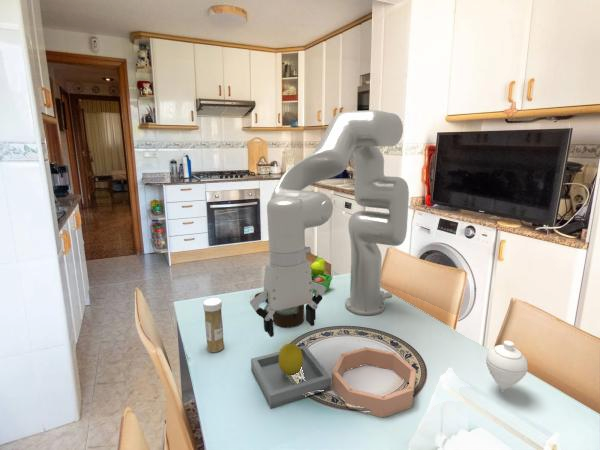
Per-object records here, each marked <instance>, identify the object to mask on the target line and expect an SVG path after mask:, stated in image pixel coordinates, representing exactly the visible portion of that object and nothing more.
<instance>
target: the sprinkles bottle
mask: <svg viewBox="0 0 600 450" xmlns="http://www.w3.org/2000/svg"><path fill="white" fill-rule="evenodd" d="M222 304H223V303H222V299H221V298H218V297H211V298H208V299H205V300H204V301H203V310H204V324H205V326H204V327H205V338H206V349H207V351H208V352H210V353H218V352H220V351H222V350H224V348H225V343H224V327H223V317H222V316H223V315H222V306H223V305H222Z"/></svg>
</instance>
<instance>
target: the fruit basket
mask: <svg viewBox="0 0 600 450" xmlns="http://www.w3.org/2000/svg"><path fill="white" fill-rule="evenodd" d="M309 266H310V271H311V277H312V282H314V283H317V284H320V285H323V286H324V287H325V288H326V290H325V292H324V293H326V292H327V291H329V289H330V286H331V282H332V280H333V276H332V275H328V274H327V273H326V274H325V272H326V261H325V260H324V258H323V257H316V258H315V260H314V262H312V263H311V264H310V265H309ZM316 293H317V290H315V289H313V294H316Z"/></svg>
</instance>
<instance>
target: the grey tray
mask: <svg viewBox="0 0 600 450" xmlns="http://www.w3.org/2000/svg"><path fill="white" fill-rule="evenodd" d="M298 347H299V348H300V349H301V352H302V355H303V365H302V370H303V373H304V377H305V378H304V379H305V380H306V381H304V382H300V383H298V384H294V385H292V384H291V383H290V381H289V380H288V378H287V377H286V374H285V373H284V372H283V371H282V370H281V368H280V366H279V353H280V351H277V352H271V353H268V354H265V355H261V356H256V357H253V358H250V367H251V368H250V369H251V370H250V371H251V372H252V374H253V375H254V378H255V380H256V382H257V384H258V386H259V389H260V390H261V392H262V394H263V396H264V398H265V401H266V403H267V404H268V407H269V408H270V409H273V408H276V407H279V406H283V405H286V404H290V403H293V402H296V401H300V400H302V399H305V398H307V397H305V395H303V393H306V392H311V391H316V390H324V391H325V392H327V390H328V391H331V390H332V376H331V375H330V374H329V373H328V371H326V369H325V368H324V367H323V365H322V364H321V363H320V361H318V359H317V358H316V356H314V354H313V353H312V352H311V351H310V349H309V348H307V346H306V345H305V344H303V345H300V346H298ZM330 389H331V390H330Z"/></svg>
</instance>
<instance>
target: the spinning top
mask: <svg viewBox="0 0 600 450" xmlns="http://www.w3.org/2000/svg"><path fill="white" fill-rule="evenodd" d="M485 364H486V367H487V369H488V371H489V374H490V375H491V377H492V378H493V380H494V382H495V383H496V384H497V386H498V387H499V388H500V389H501V394H503V393H504V391H505V390H507V389H509V388H510V389H511V387H513V386H515V385H516V384H517V383H519V382H520V381H521V380H522V379H523V378H524V377H525V376H526V375H527V372H528V370H529V369H528V368H529V367H528V365H529V364H528V361H527V359H526V357H525V356H524V354H523V353H522V351H520V350H519V349H518V348H516V347H515V343H514V342H513V341H510V340H504V341H503V344H497V345H495V346H493V347H491V348H490V349H489V350H488V351H487V353H486V356H485Z"/></svg>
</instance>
